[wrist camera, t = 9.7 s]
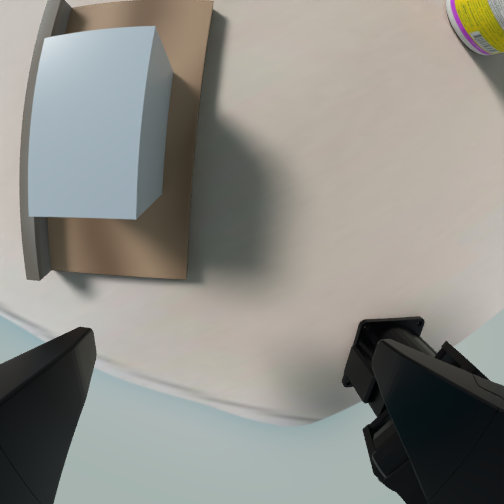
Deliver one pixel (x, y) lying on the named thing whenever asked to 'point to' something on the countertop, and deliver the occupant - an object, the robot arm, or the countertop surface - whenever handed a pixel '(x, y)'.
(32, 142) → the carton
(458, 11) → the supplement bottle
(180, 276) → the shelf board
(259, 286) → the countertop surface
